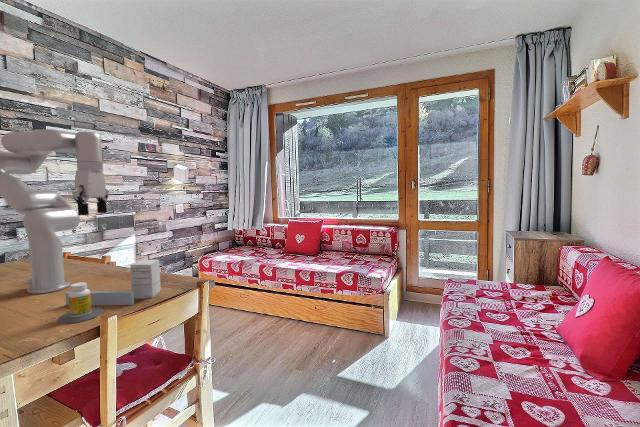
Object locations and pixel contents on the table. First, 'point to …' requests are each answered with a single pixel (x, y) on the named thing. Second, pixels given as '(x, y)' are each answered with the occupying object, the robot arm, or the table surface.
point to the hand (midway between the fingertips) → (93, 213)
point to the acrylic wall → (109, 298)
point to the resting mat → (68, 319)
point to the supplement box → (145, 278)
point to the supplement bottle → (79, 300)
